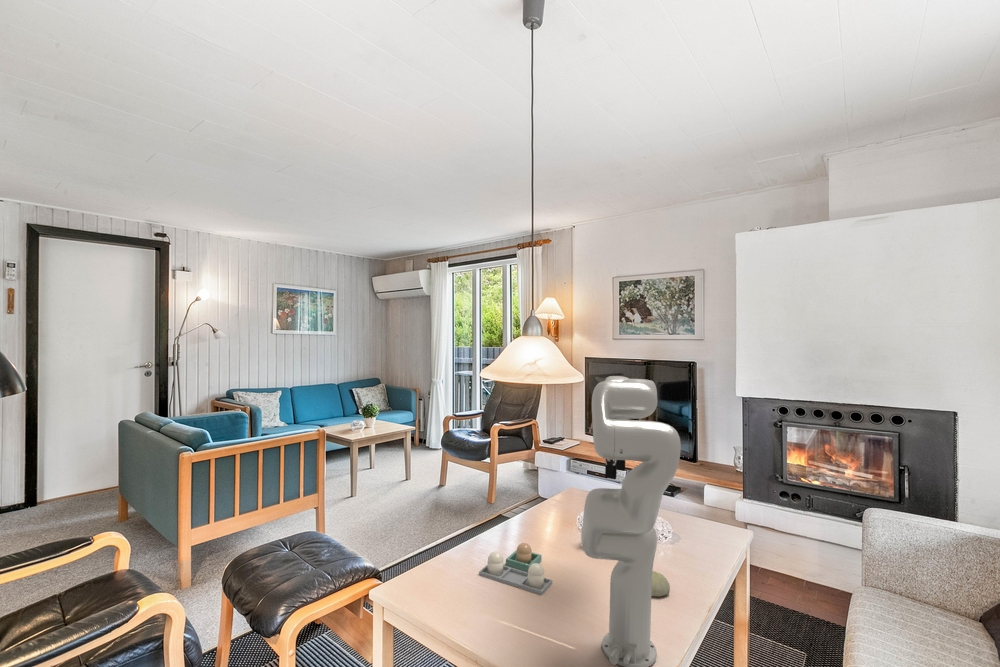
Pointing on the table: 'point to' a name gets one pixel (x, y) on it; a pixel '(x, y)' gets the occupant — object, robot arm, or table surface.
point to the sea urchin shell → (659, 585)
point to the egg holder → (513, 562)
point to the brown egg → (524, 553)
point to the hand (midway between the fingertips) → (615, 474)
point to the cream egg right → (536, 576)
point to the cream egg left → (495, 564)
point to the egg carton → (515, 579)
